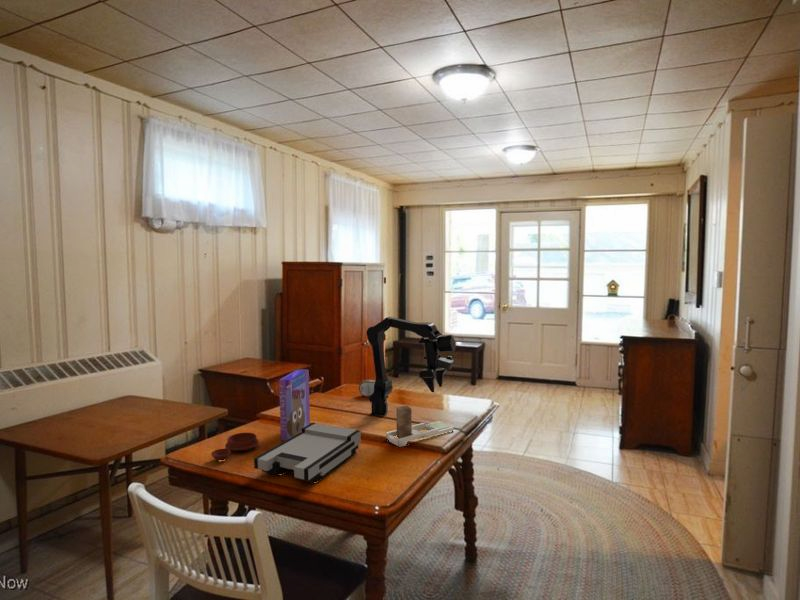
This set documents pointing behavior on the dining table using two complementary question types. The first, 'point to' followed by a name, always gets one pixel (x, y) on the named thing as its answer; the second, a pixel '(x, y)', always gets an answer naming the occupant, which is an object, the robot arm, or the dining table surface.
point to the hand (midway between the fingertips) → (436, 389)
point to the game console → (311, 452)
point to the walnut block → (403, 421)
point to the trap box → (432, 430)
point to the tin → (367, 387)
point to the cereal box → (294, 403)
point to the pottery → (236, 445)
